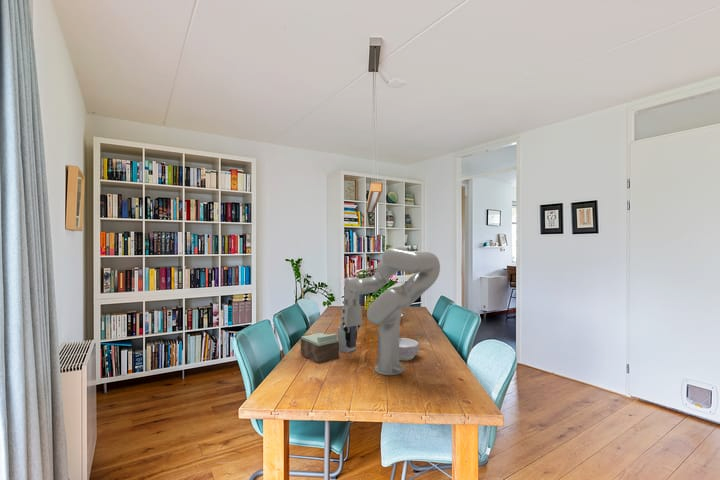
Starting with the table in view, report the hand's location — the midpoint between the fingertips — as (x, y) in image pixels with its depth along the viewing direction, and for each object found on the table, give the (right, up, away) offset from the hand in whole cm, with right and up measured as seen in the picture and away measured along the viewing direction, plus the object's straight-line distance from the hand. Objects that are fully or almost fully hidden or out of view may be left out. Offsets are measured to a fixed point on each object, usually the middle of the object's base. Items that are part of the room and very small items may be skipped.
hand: (351, 339), depth 172 cm
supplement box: (-3, -10, +14) cm, 18 cm away
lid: (-16, -2, +4) cm, 16 cm away
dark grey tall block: (0, -4, 0) cm, 4 cm away
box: (-18, -10, +6) cm, 21 cm away
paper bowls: (+26, -10, +3) cm, 28 cm away
